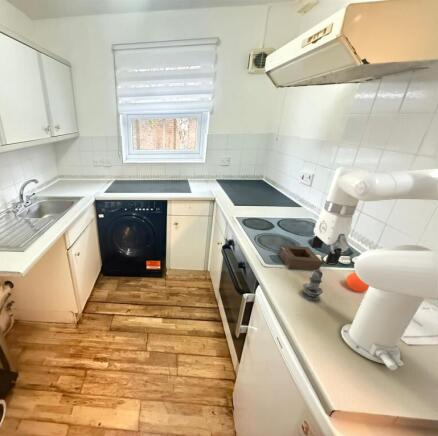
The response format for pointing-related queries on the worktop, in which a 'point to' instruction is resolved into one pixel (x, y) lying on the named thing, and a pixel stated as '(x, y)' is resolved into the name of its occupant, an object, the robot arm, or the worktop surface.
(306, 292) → the grey tiered tall piece
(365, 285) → the clementine
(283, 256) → the socket
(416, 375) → the worktop surface
